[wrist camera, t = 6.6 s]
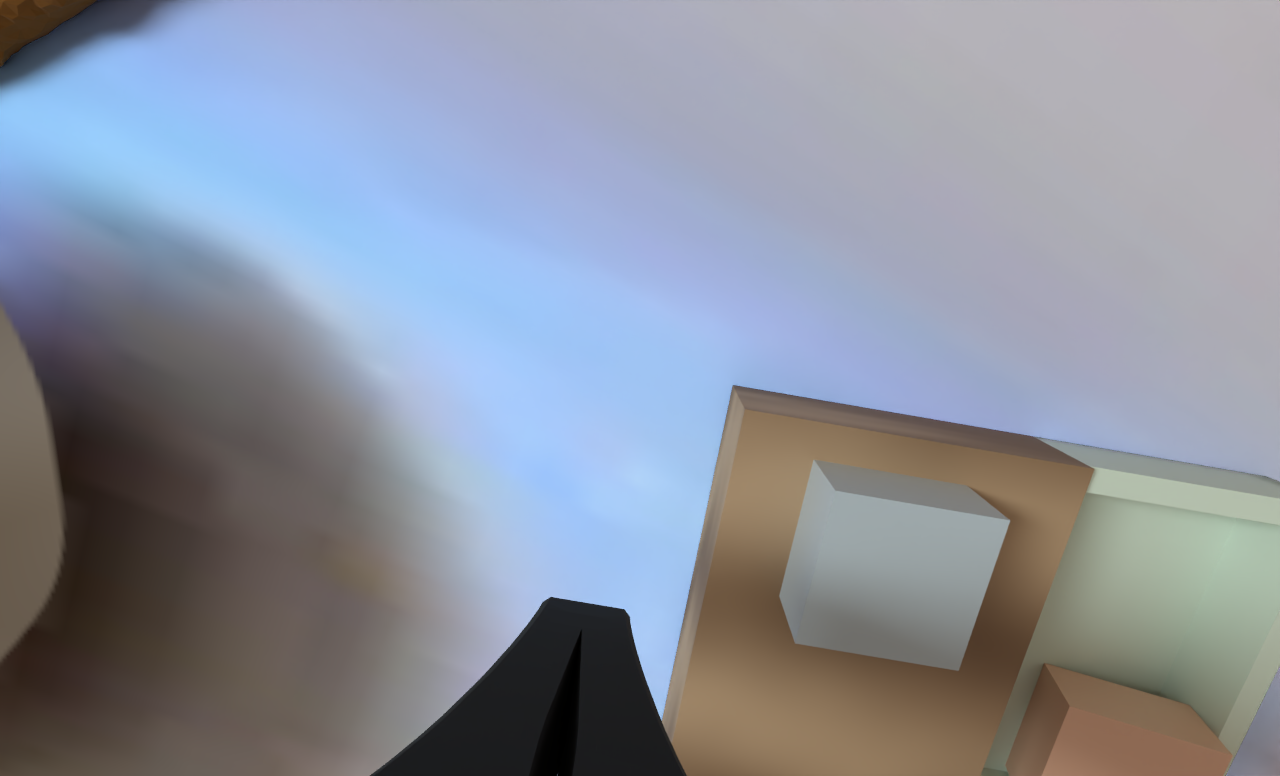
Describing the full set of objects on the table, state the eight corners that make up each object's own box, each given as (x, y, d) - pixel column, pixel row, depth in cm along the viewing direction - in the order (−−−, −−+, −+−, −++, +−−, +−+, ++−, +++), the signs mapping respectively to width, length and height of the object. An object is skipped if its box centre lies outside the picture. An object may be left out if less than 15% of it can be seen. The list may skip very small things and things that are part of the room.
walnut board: (921, 766, 21) (956, 838, 18) (661, 722, 21) (662, 789, 18) (1033, 436, 18) (1095, 468, 15) (732, 385, 18) (744, 409, 15)
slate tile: (923, 620, 17) (958, 671, 15) (779, 595, 17) (795, 643, 15) (966, 485, 16) (1010, 520, 14) (813, 459, 16) (835, 490, 14)
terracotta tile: (1025, 816, 18) (1005, 765, 20) (1177, 869, 17) (1141, 809, 19) (1069, 705, 17) (1043, 662, 19) (1233, 755, 17) (1189, 705, 18)
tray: (1121, 798, 21) (1179, 869, 19) (921, 766, 21) (954, 832, 19) (1265, 476, 18) (1355, 511, 16) (1033, 436, 18) (1089, 466, 16)
